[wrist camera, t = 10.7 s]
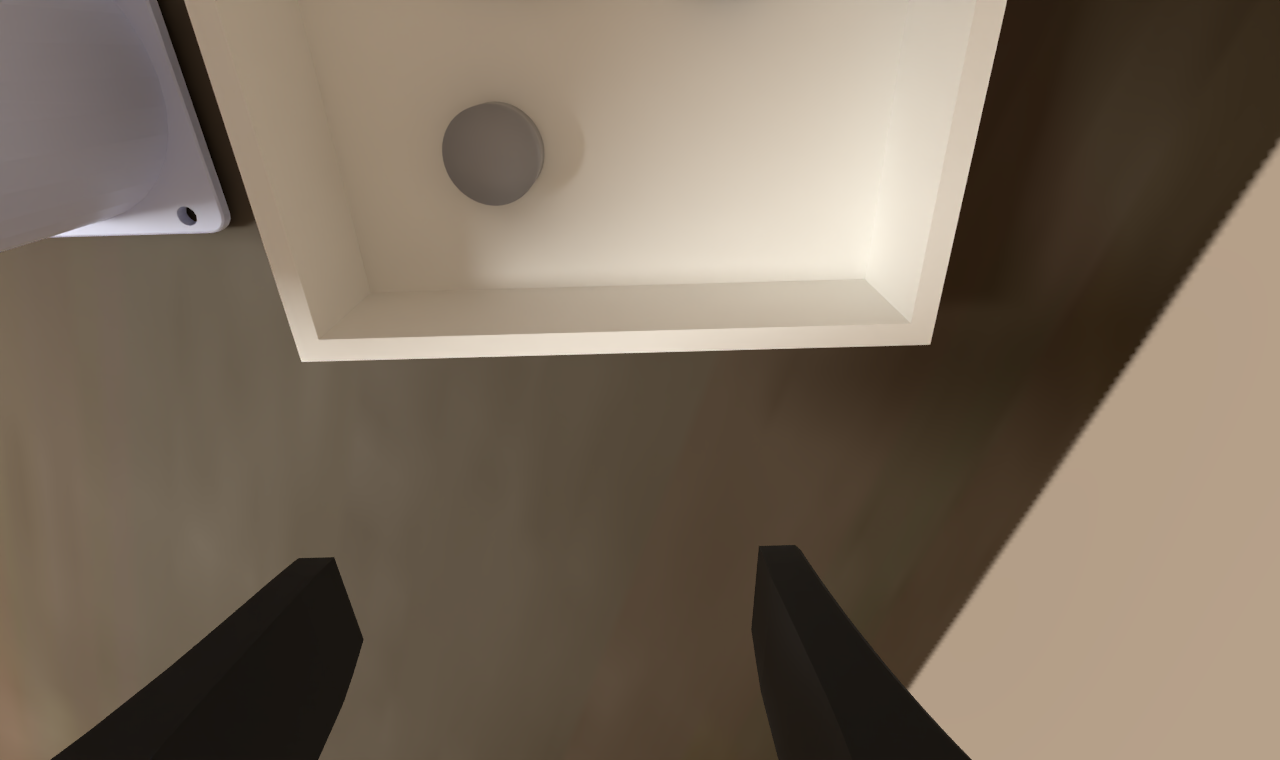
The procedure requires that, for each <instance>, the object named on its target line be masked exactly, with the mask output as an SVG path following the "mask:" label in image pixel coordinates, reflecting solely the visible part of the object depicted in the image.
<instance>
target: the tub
mask: <svg viewBox="0 0 1280 760" xmlns="http://www.w3.org/2000/svg"><path fill="white" fill-rule="evenodd" d="M184 2H185V5H186V8H187V11H188V14H189V17H190V20H191V23H192V26H193V29H194V32H195V36H196V39H197V42H198V45H199V48H200V51H201V54H202V57H203V60H204V63H205V66H206V69H207V72H208V76H209V79H210V82H211V85H212V88H213V91H214V94H215V97H216V100H217V103H218V106H219V109H220V112H221V116H222V119H223V122H224V125H225V128H226V131H227V134H228V137H229V140H230V143H231V146H232V149H233V152H234V156H235V159H236V162H237V165H238V168H239V171H240V174H241V177H242V180H243V183H244V186H245V189H246V192H247V196H248V199H249V202H250V205H251V208H252V211H253V214H254V217H255V220H256V223H257V226H258V229H259V232H260V236H261V239H262V242H263V245H264V248H265V251H266V254H267V257H268V260H269V263H270V266H271V269H272V272H273V276H274V279H275V282H276V285H277V288H278V291H279V294H280V297H281V300H282V303H283V306H284V309H285V312H286V315H287V319H288V322H289V325H290V328H291V331H292V334H293V337H294V340H295V343H296V346H297V349H298V352H299V355H300V359H301V362H315V361H352V360H388V359H425V358H461V357H498V356H535V355H571V354H608V353H645V352H681V351H718V350H754V349H791V348H828V347H864V346H901V345H930V343H931V339H932V334H933V330H934V325H935V321H936V317H937V312H938V308H939V303H940V299H941V294H942V290H943V285H944V281H945V276H946V272H947V267H948V263H949V258H950V254H951V249H952V245H953V240H954V236H955V231H956V227H957V222H958V218H959V214H960V209H961V205H962V200H963V196H964V191H965V187H966V182H967V178H968V173H969V169H970V164H971V160H972V155H973V151H974V146H975V142H976V137H977V133H978V128H979V124H980V120H981V115H982V111H983V106H984V102H985V97H986V93H987V88H988V84H989V79H990V75H991V70H992V66H993V61H994V57H995V52H996V48H997V43H998V39H999V34H1000V30H1001V25H1002V21H1003V17H1004V12H1005V8H1006V3H1007V0H184Z"/></svg>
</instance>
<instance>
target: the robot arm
mask: <svg viewBox="0 0 1280 760" xmlns="http://www.w3.org/2000/svg"><path fill="white" fill-rule="evenodd" d="M187 207H188V208H190V209H191V210H193V211H194V213H195V214H196V216H197V222H196V221H193V220H192V219H191V218H189V216H188V215H187V212H186V208H187ZM230 220H231V217H230V212H229V209H228V206H227V203H226V200H225V197H224V194H223V191H222V188H221V185H220V182H219V179H218V177H217V174H216V171H215V168H214V165H213V162H212V159H211V156H210V153H209V150H208V147H207V145H206V142H205V139H204V136H203V133H202V130H201V127H200V124H199V121H198V118H197V115H196V112H195V110H194V107H193V104H192V101H191V98H190V95H189V92H188V89H187V86H186V83H185V80H184V77H183V75H182V72H181V69H180V66H179V63H178V60H177V57H176V54H175V51H174V48H173V45H172V42H171V40H170V37H169V34H168V31H167V28H166V25H165V22H164V19H163V16H162V13H161V10H160V8H159V5H158V2H157V0H0V252H3V251H6V250H10V249H13V248H16V247H19V246H23V245H26V244H29V243H32V242H35V241H39V240H42V239H45V238H48V237H83V236H119V235H155V234H191V233H214V232H218V231H221V230H223V229H225V228H226V227H227V226H228V225H229V223H230ZM751 630H752V636H753V643H754V650H755V657H756V663H757V670H758V676H759V682H760V688H761V693H762V697H763V701H764V705H765V709H766V713H767V717H768V721H769V725H770V728H771V732H772V736H773V740H774V744H775V748H776V752H777V755H778V759H779V760H971V759H970V758H969V756H968V755H967V754H965V753H964V751H963V750H961V748H960V747H959V746H958V745H957V744H956V743H955V742H954V741H953V740H952V739H951V738H950V737H949V736H948V735H947V734H946V733H945V732H944V730H943V729H942V728H941V727H940V726H939V725H938V724H937V723H936V722H935V721H934V720H933V719H932V717H931V716H930V715H929V714H928V713H927V712H926V711H925V710H924V709H923V708H922V706H921V705H920V704H919V703H918V702H917V701H916V700H915V698H914V697H913V696H912V695H911V694H910V693H909V691H908V690H907V689H906V688H905V687H904V686H903V685H902V684H901V682H900V681H899V680H898V679H897V678H896V676H895V675H894V674H893V673H892V672H891V670H890V669H889V668H888V667H887V666H886V664H885V663H884V662H883V661H882V660H881V658H880V657H879V656H878V655H877V653H876V652H875V651H874V650H873V648H872V647H871V646H870V645H869V643H868V642H867V641H866V640H865V638H864V637H863V636H862V635H861V633H860V632H859V631H858V630H857V628H856V627H855V626H854V624H853V623H852V622H851V620H850V619H849V618H848V617H847V615H846V614H845V613H844V611H843V610H842V608H841V607H840V606H839V604H838V603H837V602H836V600H835V599H834V598H833V596H832V595H831V594H830V592H829V591H828V589H827V588H826V587H825V585H824V584H823V582H822V581H821V579H820V578H819V577H818V575H817V574H816V572H815V571H814V569H813V568H812V566H811V565H810V563H809V562H808V560H807V559H806V557H805V556H804V554H803V553H802V551H801V550H800V549H799V548H798V547H797V546H796V545H782V546H759V552H758V563H757V574H756V585H755V596H754V607H753V618H752V629H751ZM362 643H363V637H362V634H361V631H360V628H359V626H358V623H357V620H356V617H355V614H354V612H353V609H352V606H351V603H350V600H349V598H348V595H347V592H346V589H345V587H344V584H343V581H342V578H341V575H340V573H339V570H338V567H337V564H336V561H335V559H334V557H331V558H298V559H297V560H296V561H294V562H293V563H292V564H291V565H289V566H288V567H287V568H286V569H285V570H283V571H282V572H281V573H280V574H279V575H277V576H276V577H275V578H274V579H273V580H271V581H270V582H269V583H268V584H267V585H266V586H264V587H263V588H262V589H261V590H260V591H259V592H257V593H256V594H255V595H254V596H253V597H252V598H250V599H249V600H248V601H247V602H246V603H245V604H243V605H242V606H241V607H240V608H239V609H238V610H236V611H235V612H234V613H233V614H232V615H231V616H229V617H228V618H227V619H226V620H225V621H224V622H222V623H221V624H220V625H219V626H218V627H217V628H215V629H214V630H213V631H212V632H211V633H209V634H208V635H207V636H206V637H205V638H204V639H202V640H201V641H200V642H199V643H198V644H196V645H195V646H194V647H193V648H192V649H191V650H189V651H188V652H187V653H186V654H185V655H183V656H182V657H181V658H180V659H179V660H178V661H176V662H175V663H174V664H173V665H172V666H170V667H169V668H168V669H167V670H165V671H164V672H163V673H162V674H160V675H159V676H158V677H157V678H155V679H154V680H153V681H152V682H150V683H149V684H148V685H147V686H145V687H144V688H143V689H142V690H140V691H139V692H138V693H136V694H135V695H134V696H133V697H131V698H130V699H129V700H128V701H126V702H125V703H124V704H123V705H121V706H120V707H119V708H118V709H116V710H115V711H114V712H113V713H111V714H110V715H109V716H108V717H106V718H105V719H104V720H103V721H101V722H100V723H99V724H97V725H96V726H95V727H94V728H92V729H91V730H90V731H88V732H87V733H86V734H84V735H83V736H82V737H80V738H79V739H78V740H77V741H75V742H74V743H73V744H71V745H70V746H68V747H67V748H66V749H64V750H63V751H62V752H60V753H59V754H58V755H56V756H55V757H54V758H52V759H51V760H318V759H319V756H320V754H321V752H322V750H323V748H324V745H325V743H326V741H327V739H328V736H329V734H330V732H331V730H332V727H333V725H334V723H335V721H336V719H337V716H338V714H339V712H340V709H341V707H342V705H343V702H344V700H345V697H346V694H347V691H348V688H349V685H350V682H351V679H352V676H353V673H354V669H355V666H356V663H357V659H358V656H359V653H360V649H361V646H362Z"/></svg>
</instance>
